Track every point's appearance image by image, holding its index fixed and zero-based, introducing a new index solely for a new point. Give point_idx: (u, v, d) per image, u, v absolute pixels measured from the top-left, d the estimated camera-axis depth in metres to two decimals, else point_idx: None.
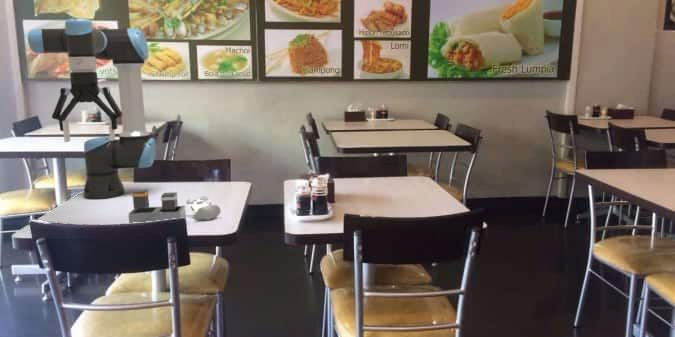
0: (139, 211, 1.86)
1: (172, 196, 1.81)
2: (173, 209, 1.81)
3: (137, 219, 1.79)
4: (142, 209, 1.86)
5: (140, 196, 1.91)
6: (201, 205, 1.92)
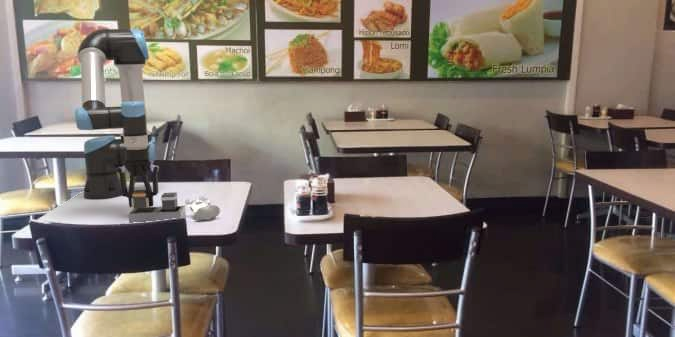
0: (139, 211, 1.86)
1: (172, 196, 1.81)
2: (173, 209, 1.81)
3: (137, 219, 1.79)
4: (142, 209, 1.86)
5: (140, 196, 1.91)
6: (200, 205, 1.92)
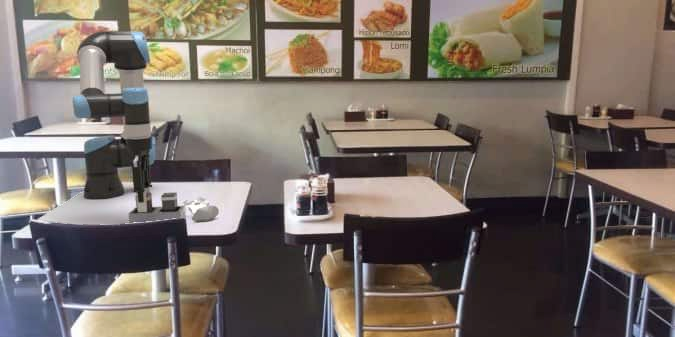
0: None
1: (172, 196, 1.81)
2: (173, 209, 1.81)
3: (137, 219, 1.79)
4: None
5: None
6: (199, 206, 1.91)
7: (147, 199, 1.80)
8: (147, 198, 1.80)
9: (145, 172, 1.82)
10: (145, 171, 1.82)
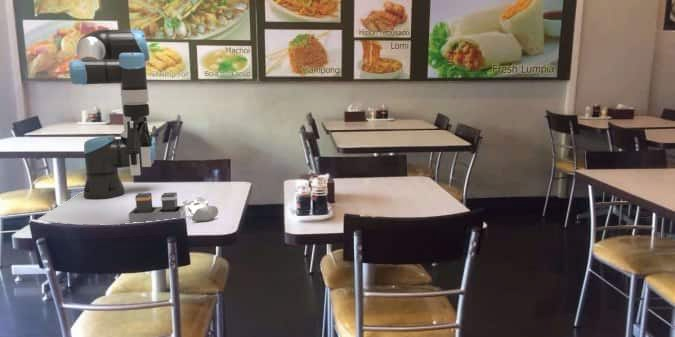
0: None
1: (172, 196, 1.81)
2: (173, 209, 1.81)
3: (137, 219, 1.79)
4: None
5: None
6: (198, 206, 1.91)
7: (147, 199, 1.80)
8: (147, 198, 1.80)
9: (144, 135, 1.83)
10: (144, 135, 1.82)
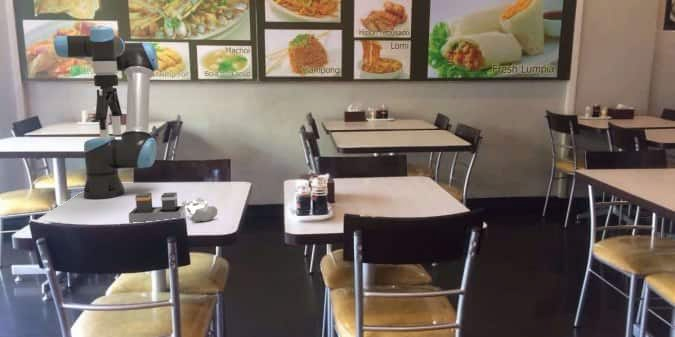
0: None
1: (172, 196, 1.81)
2: (173, 209, 1.81)
3: (137, 219, 1.79)
4: None
5: None
6: (197, 206, 1.90)
7: (147, 199, 1.80)
8: (147, 198, 1.80)
9: (114, 105, 1.98)
10: (114, 104, 1.98)
